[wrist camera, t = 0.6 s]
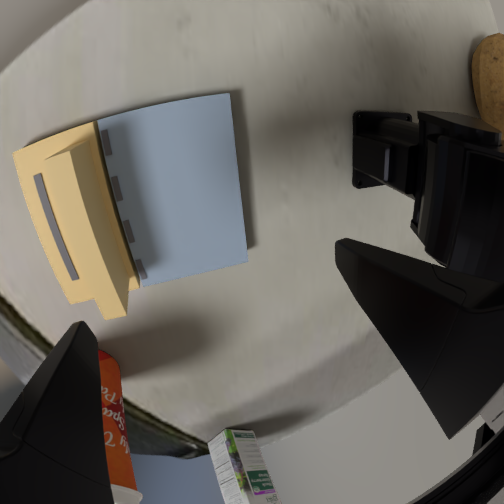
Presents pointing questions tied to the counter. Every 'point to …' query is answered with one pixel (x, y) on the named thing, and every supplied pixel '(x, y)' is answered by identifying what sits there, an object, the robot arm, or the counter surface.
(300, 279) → the counter surface
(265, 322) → the counter surface
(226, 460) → the syrup box
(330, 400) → the counter surface
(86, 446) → the robot arm
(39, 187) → the stub
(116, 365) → the coffee cup
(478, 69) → the potato
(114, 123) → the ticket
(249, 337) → the counter surface
